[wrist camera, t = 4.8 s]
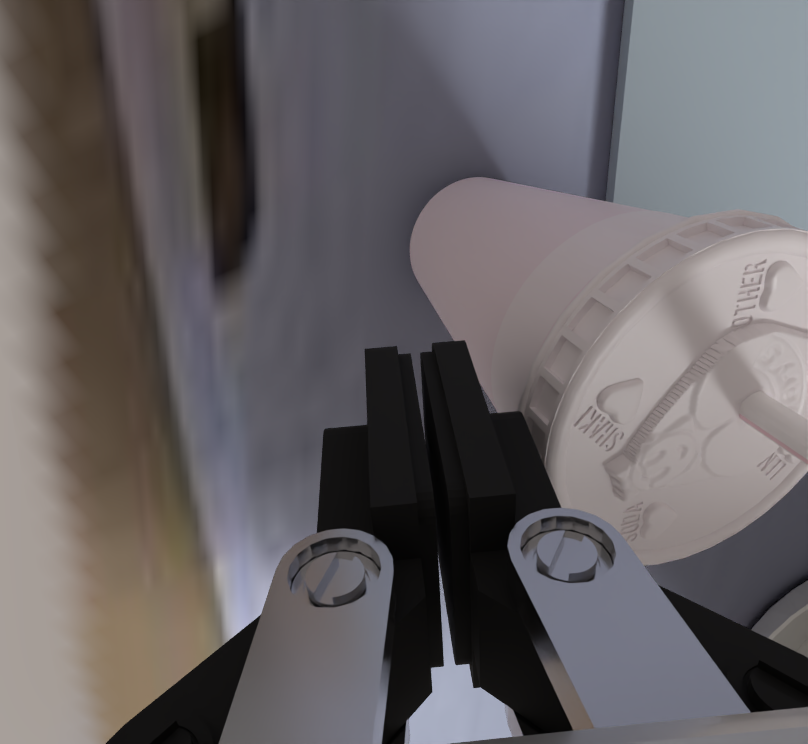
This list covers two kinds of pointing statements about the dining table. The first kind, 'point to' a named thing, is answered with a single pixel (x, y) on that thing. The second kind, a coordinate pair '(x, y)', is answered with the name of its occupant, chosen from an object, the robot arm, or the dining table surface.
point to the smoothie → (632, 350)
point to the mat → (712, 108)
